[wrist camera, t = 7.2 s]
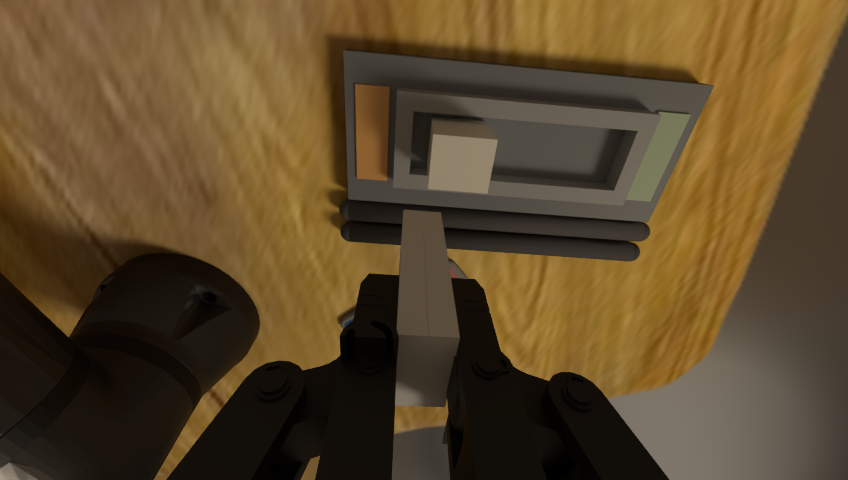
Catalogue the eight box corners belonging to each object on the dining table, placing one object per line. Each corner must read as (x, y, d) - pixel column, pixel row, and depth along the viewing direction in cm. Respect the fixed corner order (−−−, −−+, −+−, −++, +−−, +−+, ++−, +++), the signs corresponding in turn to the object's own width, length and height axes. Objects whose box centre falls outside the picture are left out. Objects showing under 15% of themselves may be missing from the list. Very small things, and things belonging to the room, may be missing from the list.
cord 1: (342, 213, 31) (337, 223, 30) (341, 195, 30) (336, 204, 29) (638, 235, 33) (649, 245, 31) (646, 218, 32) (657, 228, 30)
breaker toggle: (427, 163, 27) (427, 189, 23) (431, 116, 25) (433, 134, 21) (477, 167, 27) (487, 193, 23) (485, 121, 25) (498, 139, 21)
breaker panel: (351, 191, 30) (344, 207, 28) (347, 49, 24) (338, 51, 22) (638, 214, 31) (657, 230, 29) (699, 82, 26) (730, 88, 23)
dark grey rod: (343, 234, 32) (339, 244, 31) (342, 217, 32) (338, 227, 30) (629, 254, 34) (639, 265, 32) (636, 239, 33) (647, 249, 31)
